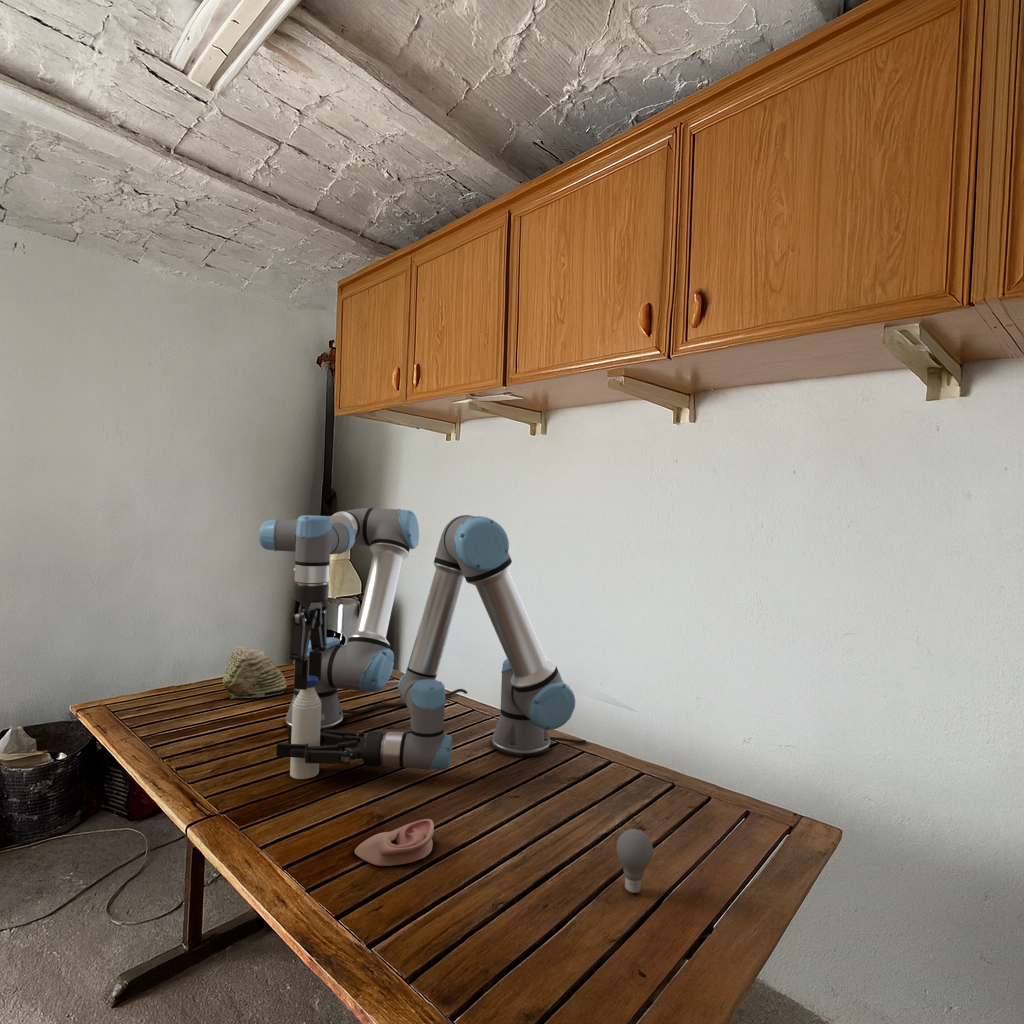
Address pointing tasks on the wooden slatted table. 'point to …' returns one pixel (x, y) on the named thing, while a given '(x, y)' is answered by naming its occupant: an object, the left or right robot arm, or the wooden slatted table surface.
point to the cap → (312, 681)
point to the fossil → (252, 674)
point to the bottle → (305, 731)
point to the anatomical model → (398, 844)
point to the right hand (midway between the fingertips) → (283, 743)
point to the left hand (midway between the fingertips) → (307, 683)
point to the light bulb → (634, 857)
